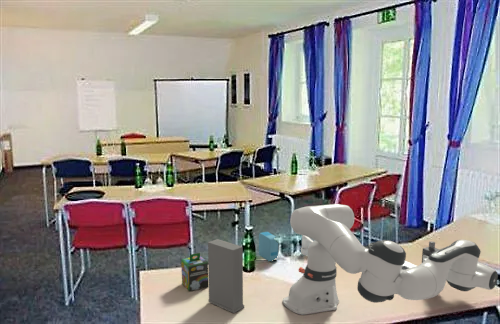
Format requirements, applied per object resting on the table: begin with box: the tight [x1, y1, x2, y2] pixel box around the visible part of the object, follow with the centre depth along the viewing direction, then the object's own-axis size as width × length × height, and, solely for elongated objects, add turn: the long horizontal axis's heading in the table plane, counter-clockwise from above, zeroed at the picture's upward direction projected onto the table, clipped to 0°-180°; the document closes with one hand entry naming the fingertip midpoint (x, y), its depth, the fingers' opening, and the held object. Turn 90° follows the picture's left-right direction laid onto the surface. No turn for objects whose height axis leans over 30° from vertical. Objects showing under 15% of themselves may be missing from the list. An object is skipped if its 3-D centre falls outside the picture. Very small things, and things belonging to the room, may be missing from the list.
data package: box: [258, 231, 279, 262], centre depth 233 cm, size 12×4×12 cm, turn 27°
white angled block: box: [300, 235, 314, 257], centre depth 238 cm, size 4×10×9 cm
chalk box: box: [180, 252, 209, 292], centre depth 201 cm, size 9×9×15 cm
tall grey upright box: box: [207, 238, 245, 314], centre depth 182 cm, size 14×6×25 cm, turn 48°
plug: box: [421, 241, 440, 264], centre depth 198 cm, size 5×5×13 cm
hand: (429, 255), depth 199 cm, fingers closed on plug, 5 cm apart
